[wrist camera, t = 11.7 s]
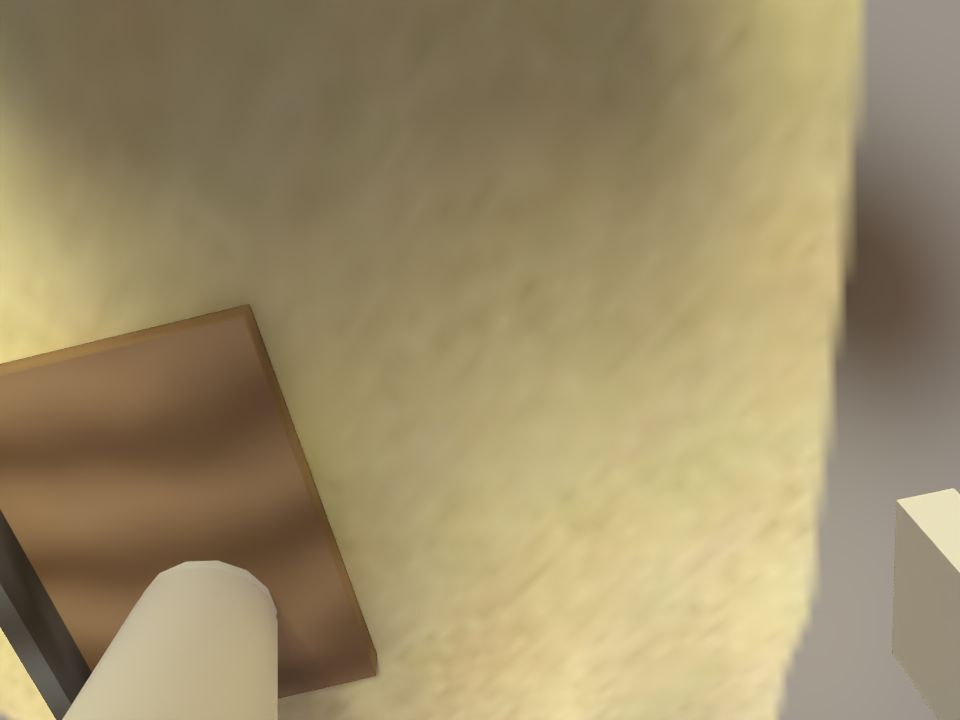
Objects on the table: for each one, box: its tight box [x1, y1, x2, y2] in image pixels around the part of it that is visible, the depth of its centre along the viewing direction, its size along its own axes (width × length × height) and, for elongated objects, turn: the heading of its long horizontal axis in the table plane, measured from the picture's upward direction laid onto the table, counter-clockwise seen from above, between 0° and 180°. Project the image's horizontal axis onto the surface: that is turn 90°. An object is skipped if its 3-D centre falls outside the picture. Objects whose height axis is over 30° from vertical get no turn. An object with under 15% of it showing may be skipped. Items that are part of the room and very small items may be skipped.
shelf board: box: [0, 305, 377, 720], centre depth 39 cm, size 20×14×4 cm
